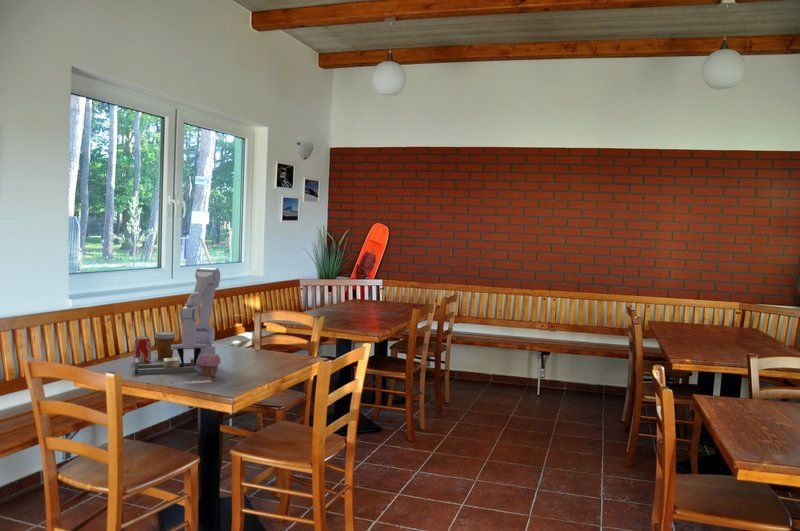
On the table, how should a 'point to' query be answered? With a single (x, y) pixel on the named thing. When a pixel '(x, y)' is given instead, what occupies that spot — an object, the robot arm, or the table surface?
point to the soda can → (142, 350)
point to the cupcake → (209, 364)
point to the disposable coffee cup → (165, 344)
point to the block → (176, 363)
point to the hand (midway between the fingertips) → (188, 365)
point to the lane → (159, 368)
